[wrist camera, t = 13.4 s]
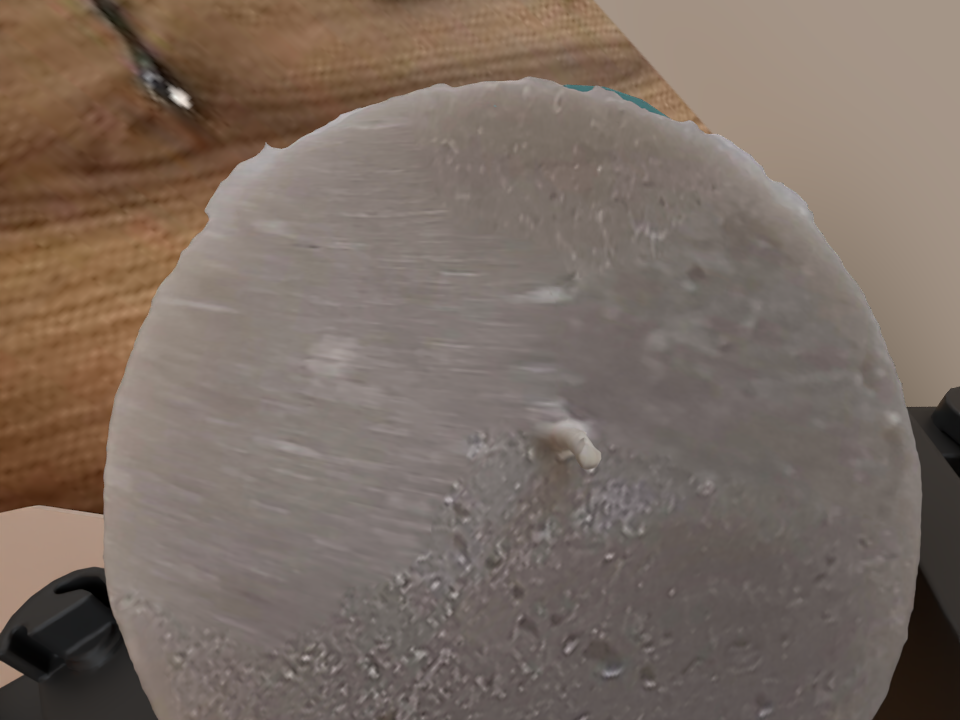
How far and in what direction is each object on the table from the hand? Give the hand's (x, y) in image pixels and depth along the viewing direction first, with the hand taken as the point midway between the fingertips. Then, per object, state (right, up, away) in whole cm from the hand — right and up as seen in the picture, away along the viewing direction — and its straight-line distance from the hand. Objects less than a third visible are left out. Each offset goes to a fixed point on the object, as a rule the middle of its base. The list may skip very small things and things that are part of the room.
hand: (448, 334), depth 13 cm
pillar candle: (0, -4, +6) cm, 7 cm away
